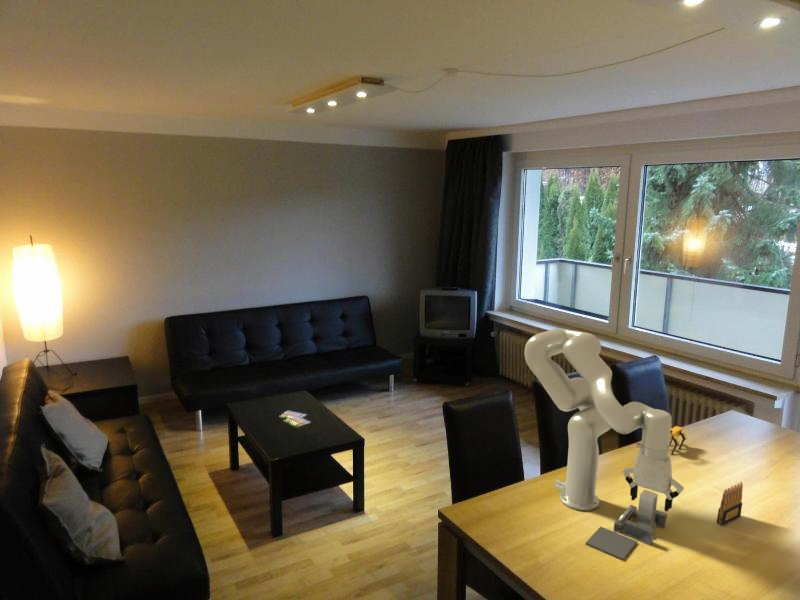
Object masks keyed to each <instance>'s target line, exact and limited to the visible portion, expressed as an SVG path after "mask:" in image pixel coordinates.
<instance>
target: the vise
mask: <svg viewBox="0 0 800 600" xmlns="http://www.w3.org/2000/svg"><path fill="white" fill-rule="evenodd" d="M637 513H638V506H635V505H632V504H630V505H629V506H628V507H627V508H626V509H625V510H624V512H623V513H621V515H620V516H619V517H618V518H617V520H616V521H615V522H614V523H613V532H616V533H618V534H621V533H622V532H623V533H622V535H623V536H625V537H628V538H630V539H633V540H635V541H637V542H640V543H643V544H644V545H645V544H646V545H647V546H652V545H653V543H654V537H655V529H654V530H652V529H649V528H647V527H644V526H641V525H639V524H637V522H633V521H632V520H633V519H634V518H635V516H636V515H637ZM667 518H668V513H667V512H665V511H662V510H658V509H656V515H655V522H656V526H658V527H659V528H663V529H664V528H665V527H666V525H667Z"/></svg>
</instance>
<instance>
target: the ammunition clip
mask: <svg viewBox="0 0 800 600" xmlns="http://www.w3.org/2000/svg"><path fill="white" fill-rule="evenodd" d="M742 499H743V482H742V481H740V482H739V483H736V484H734V485H731V486H730V487H727V489H726V488H725V489H724V491H723V493H722V497H721V500H720V506H719V508H718V510H717V511H718V512H717V517H716V524H717V525H719V526H721V527H724V526H725V525H728V524H729V523H731V522H734V521H735V520H737V519H739V518H741V514H742V508H743V507H742V506H743V502H742Z"/></svg>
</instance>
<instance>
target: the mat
mask: <svg viewBox="0 0 800 600" xmlns="http://www.w3.org/2000/svg"><path fill="white" fill-rule="evenodd" d="M637 542H638V540H635V539H633V538H630V537H628V536H626V535H623V534H621V533H618V532H616V531H614V530H610V529H608V528H605V527H603V526H599V528H597V530H595V532H593V534H592V535H591V536H590V537H589V538H588V540H586V542H585V545H587V546H588V547H589V548H590V547H591V548H593V549H596V550H598V551H599V552H602V553H604V554H607V555H609V556H611V557H613V558H616V559H618V560H620V561H624V560H625V559H626V558H627V557H628V555H629V554H630V553H631V551H632V550H633V549H634V548H635V546H636V545H637V544H638V543H637Z"/></svg>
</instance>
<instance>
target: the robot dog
mask: <svg viewBox="0 0 800 600" xmlns="http://www.w3.org/2000/svg"><path fill="white" fill-rule="evenodd" d="M679 436H681V438H682V440H681V442H680V441H679V439H678V437H679ZM687 439H688V438H687V435H686V434H685V431H684V430H683V427H681V426H677V425H675V426H674V427H673V428H672V427H671V433H670V444H669V447H671V445H672V442H673V443H674V446H673V448H672V451H671V453H670V455H671V456H674V453H675V452H676V448H677V446H679V447H678V450H682V446H683V445H684V442H685V441H686V440H687Z"/></svg>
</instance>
